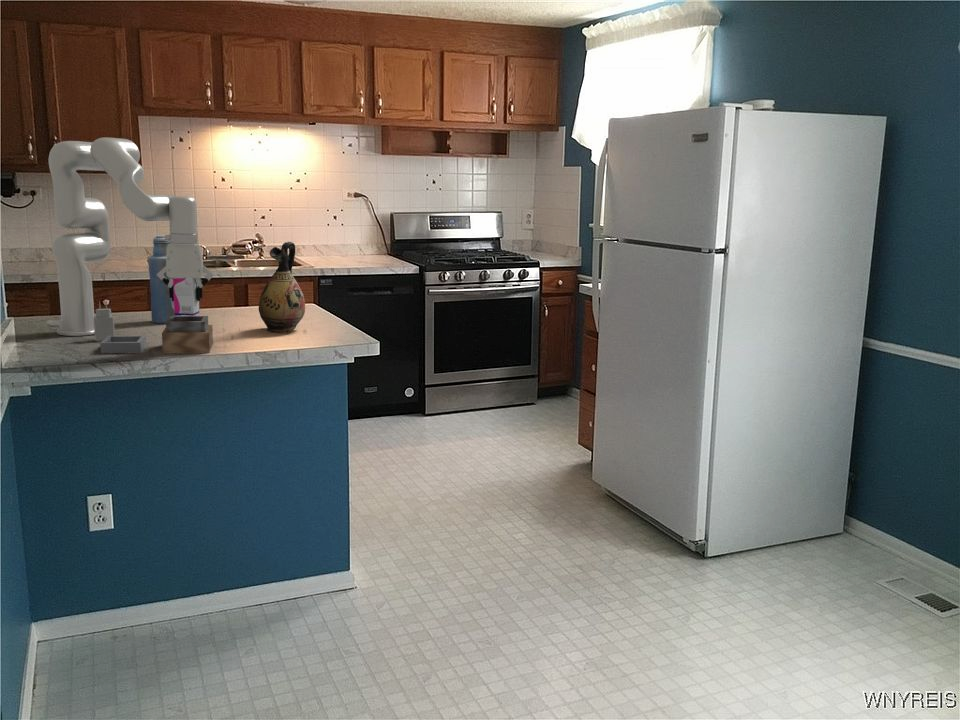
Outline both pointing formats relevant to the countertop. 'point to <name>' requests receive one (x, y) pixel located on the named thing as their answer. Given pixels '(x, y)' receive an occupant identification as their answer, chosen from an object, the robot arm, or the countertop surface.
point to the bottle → (159, 283)
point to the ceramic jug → (282, 294)
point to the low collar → (123, 344)
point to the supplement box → (185, 296)
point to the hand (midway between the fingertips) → (186, 300)
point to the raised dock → (187, 335)
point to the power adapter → (103, 324)
